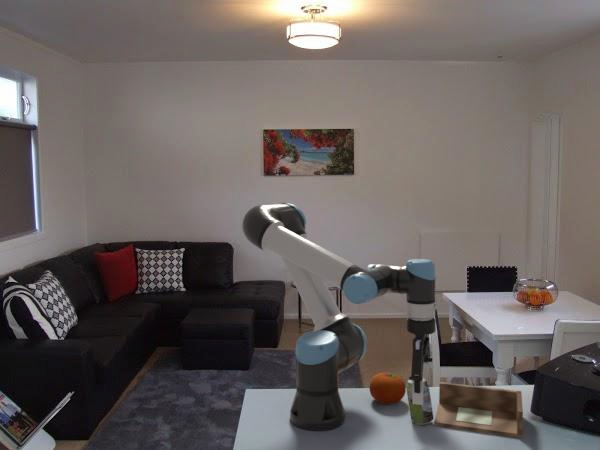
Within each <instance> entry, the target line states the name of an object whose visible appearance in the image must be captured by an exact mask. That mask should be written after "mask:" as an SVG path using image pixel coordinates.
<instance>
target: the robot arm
mask: <svg viewBox="0 0 600 450" xmlns="http://www.w3.org/2000/svg"><path fill="white" fill-rule="evenodd" d="M306 225H307V219H306V216H305V214H304V212H303V210H302V209H301V208H300V207H299V206H297V205H296V204H293V203H288V202H277V203H271V204H259V205H255V206H254V207H252V208H250V209H249V210H248V211H246V214H244V217H243V219H242V225H241V226H242V232H243V234H244V236H245V238H246V239H247V240H248V242H250V244H252V245H253V246H255V247H257V248H258V249H260V250H262V251H264V252H265V253H270V252H273V253H274V254H276V255H278V256H280V258H281V259H282V261H283V264H284V265H285V267H286V269H287V272H288V273H289V276H290V278H291V279H292V282H293V283H294V286H295V288H296V290H297V292H298V293H299V296H300V297H301V298H300V299H301V300H302V301H303V304H304V306H305V308H306V310H307V312H308V314H309V316H310V318H311V320H312V323H313V324H314V328H313V331H308V332H306V333H303V334H301V336H299V337H298V339H297V340H296V344H295V352H294V355H295V382H296V383H295V384H296V385H295V386H296V388H295V389H296V390H295V391H296V392H295V395H294V398H293V401H292V403H291V407H290V411H289V413H290V414H289V417H290V418H289V419H290V422H291V423H292V424H293V425H294V426H296V427H297V428H299V429H303V430H310V431H327V430H333V429H335V428H338V427H340V426H341V425H343V424H344V422H345V420H346V419H345V417H346V415H345V414H346V413H345V408H344V407H345V406H344V405H343V401H342V398H341V396H340V395H341V394H340V392H339V374H340V373H342V372H344V371H346V370H347V369H349V368H351V367H352V366H355V365H357V364H358V363H359V362H360V361H361V360H362V359H363V358H364V357H365V355H366V353H367V350H368V339H367V336H366V333H365V332H364V330H363V329H362V328H361V327H360V326H359V325H356V324H355V323H352V321H351V319H350V317H349V315H348V314H345V313H342V312H341V311H340V309H339V307H338V305H337V302H336V301H335V299H334V297H333V295H332V293H331V291H330V289H329V287H328V285H327V283H329V284H330V285H333V286H334V287H336V288H338V289H340V290H341V291H343V294H344V296H345V297H346V299H347V300H348V301H349V302H351V303H352V304H355V305H361V304H365V303H369V302H371V301H372V300H374V299H377V298H378V297H381V296H384V295H386V294H400V295H405V297H406V305H405V307H406V316H407V318H406V330H407V332H408V333H410V334H413V335H414V337H413V339H412V359H411V375H410V376H409V377H408V380H412V404H418V405H423V378H425V379H426V381H427V382H428V384H429V387H430V385H431V383H430V382H431V377H430V376H431V373H430V372H431V370H430V369H431V367H430V365H431V363H433V357H431V346H430V335H432V334H434V333H435V332H436V318H435V316H436V310H439V309H438V308H439V307H438V306H437V305H435V304H436V279H437V276H436V266H435V262H433V261H432V260H431V259H428V258H427V259H425V258H412V259H411V258H410V259H407V261H406V264H405V265H404V266H403V265H392V264H382V263H378V264H376V263H375V264H374V263H372V264H371V263H370V264H368V265H367V266H366V268H362V267H360V266H358V265H356V264H355V263H352V262H351V261H349V260H347V259H345V258H343V257H341V256H339V255H337V254H336V253H334V252H332V251H330V250H328V249H326V248H324V247H323V246H320V245H318V244H317V243H314V242H312V241H310V240H309V239H308V238H307V237H308V235H307V231H306V228H307V227H306ZM326 282H327V283H326Z"/></svg>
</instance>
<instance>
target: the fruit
mask: <svg viewBox="0 0 600 450" xmlns="http://www.w3.org/2000/svg"><path fill="white" fill-rule="evenodd" d="M368 388H369V392H370V396H371V397H372V398H373V399H374V400H375V401H377V402H378V403H381V404H386V405H387V404H388V405H391V404H392V405H393V404H395V403H398V402H400V401H401V400H402V399H403V398H404V396H405V395H406V393H407V389H406V383H405V381H404V380H403V379H402V377H400V376H399V375H397V374H395V373H393V372H380V373H377V374H375V375H373V377H372V378H371V380H370V382H369V387H368Z"/></svg>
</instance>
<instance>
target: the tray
mask: <svg viewBox="0 0 600 450" xmlns="http://www.w3.org/2000/svg"><path fill="white" fill-rule="evenodd" d="M438 390H439V394H438V397H439V399H438V402H439V403H438V406H437V411H436V414H435V418H434V422H433V425H434V427H435V426H436V427H442V428H449V429H454V430H462V431H467V432H469V431H470V432H477V433H483V434H489V435H498V436H502V437H503V436H505V437H512V438H519V439H523V426H524V425H523V424H524V423H523V422H524V421H523V420H524V419H523V417H524V415H523V414H524V408H523V395H522V391H520V390H514V389H513V390H511V389H504V388H495V387H487V386H480V385H479V386H478V385H470V384H463V383H461V384H460V383H453V382H444V381H440V382H439V389H438Z"/></svg>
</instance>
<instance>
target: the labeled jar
mask: <svg viewBox="0 0 600 450" xmlns="http://www.w3.org/2000/svg"><path fill="white" fill-rule="evenodd" d="M405 386H406V394H407V400H408V409H409V413H410V414H409V415H410V419H411V422H413V423H415V424H416V425H420V426H421V425H423V426H424V425H427V424H430V423H431V422H432V421H433V420H434V412H433V405H432V398H431V391H430V386H429V384H428V382H427V381H426V379H425V378H423V405H418V404H412V380H409V379H408V380H407V383H406V384H405Z"/></svg>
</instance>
